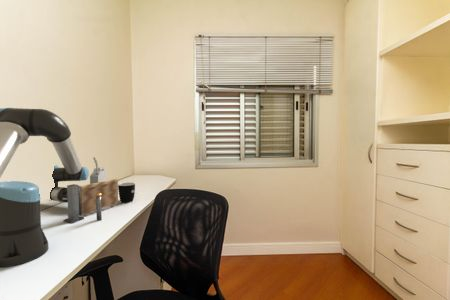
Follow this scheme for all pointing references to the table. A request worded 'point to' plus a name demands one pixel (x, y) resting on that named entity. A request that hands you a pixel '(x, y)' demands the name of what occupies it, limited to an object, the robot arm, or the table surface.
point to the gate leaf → (89, 199)
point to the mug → (126, 192)
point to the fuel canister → (98, 174)
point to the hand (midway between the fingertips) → (98, 198)
